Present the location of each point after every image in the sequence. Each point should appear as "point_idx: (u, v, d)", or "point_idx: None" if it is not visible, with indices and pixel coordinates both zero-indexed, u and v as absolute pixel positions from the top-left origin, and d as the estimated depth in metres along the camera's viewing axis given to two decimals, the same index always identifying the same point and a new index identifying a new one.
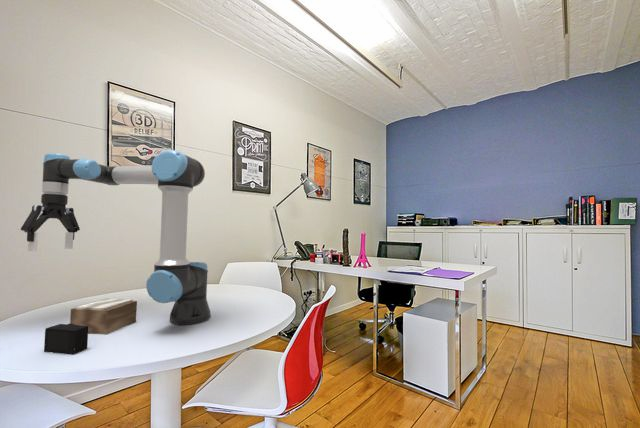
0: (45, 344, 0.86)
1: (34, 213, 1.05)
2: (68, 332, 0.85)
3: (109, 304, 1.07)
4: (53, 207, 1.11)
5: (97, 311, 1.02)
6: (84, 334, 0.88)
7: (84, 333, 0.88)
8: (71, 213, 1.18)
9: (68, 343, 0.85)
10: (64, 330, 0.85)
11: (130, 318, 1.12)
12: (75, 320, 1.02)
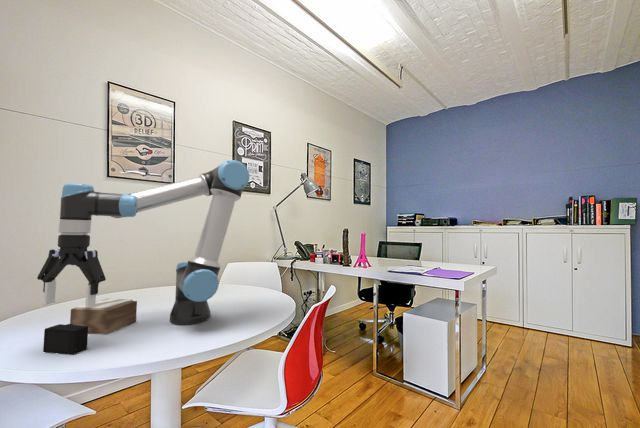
0: (44, 344, 0.86)
1: None
2: (67, 332, 0.85)
3: (109, 304, 1.07)
4: (66, 251, 0.89)
5: (97, 311, 1.02)
6: (84, 334, 0.87)
7: (84, 333, 0.87)
8: (88, 258, 0.88)
9: (68, 343, 0.85)
10: (64, 330, 0.85)
11: (130, 318, 1.12)
12: (75, 320, 1.02)
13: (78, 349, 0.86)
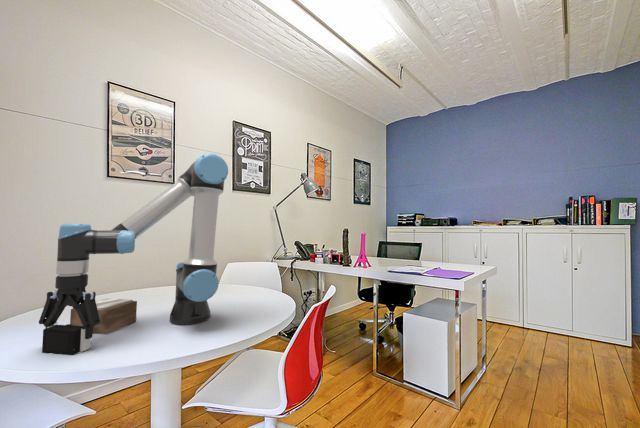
0: (43, 345, 0.85)
1: None
2: (67, 333, 0.85)
3: (109, 304, 1.07)
4: (64, 291, 0.88)
5: None
6: None
7: None
8: (85, 300, 0.87)
9: (67, 343, 0.84)
10: (63, 331, 0.85)
11: (130, 318, 1.12)
12: (75, 320, 1.02)
13: (77, 349, 0.86)
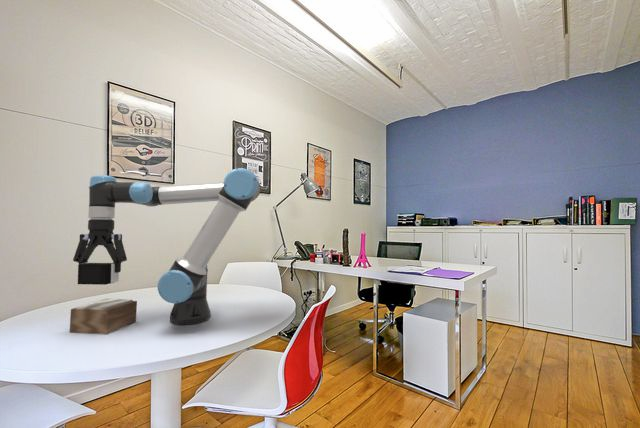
0: (78, 277, 1.01)
1: None
2: (99, 266, 1.00)
3: (109, 304, 1.07)
4: (95, 233, 1.03)
5: (97, 311, 1.02)
6: None
7: None
8: (114, 240, 1.03)
9: (100, 275, 1.00)
10: (96, 264, 1.00)
11: (130, 318, 1.12)
12: (75, 320, 1.02)
13: (109, 280, 1.01)
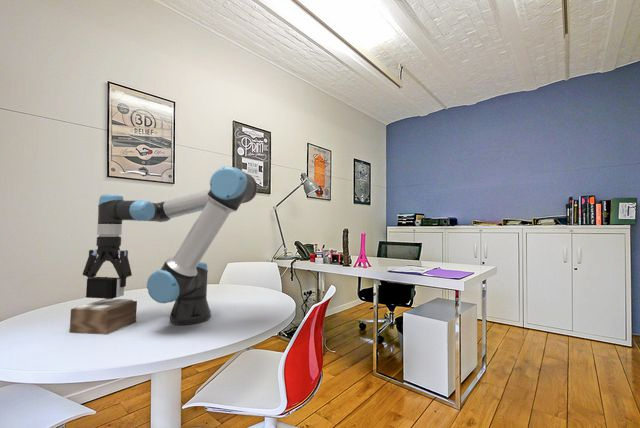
0: (87, 291, 1.07)
1: None
2: (106, 281, 1.06)
3: (109, 304, 1.07)
4: (102, 249, 1.09)
5: (97, 311, 1.02)
6: None
7: None
8: (120, 256, 1.08)
9: (107, 289, 1.06)
10: (103, 279, 1.06)
11: (130, 318, 1.12)
12: (75, 320, 1.02)
13: (114, 295, 1.07)
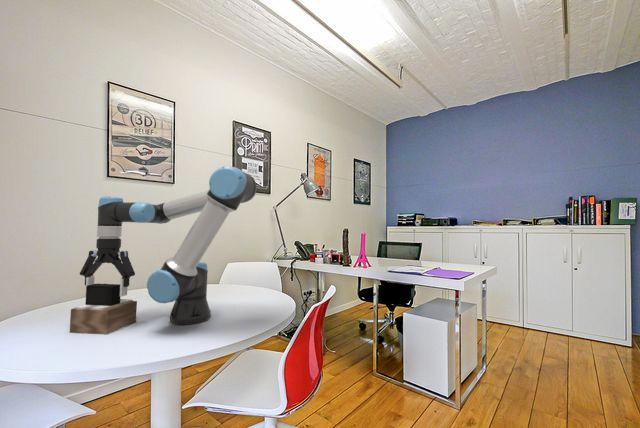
0: (86, 298, 1.06)
1: None
2: (106, 288, 1.06)
3: None
4: (103, 251, 1.09)
5: (97, 311, 1.02)
6: (118, 290, 1.08)
7: (118, 290, 1.08)
8: (121, 257, 1.08)
9: (106, 296, 1.05)
10: (102, 286, 1.06)
11: (130, 318, 1.12)
12: (75, 320, 1.02)
13: (114, 302, 1.06)
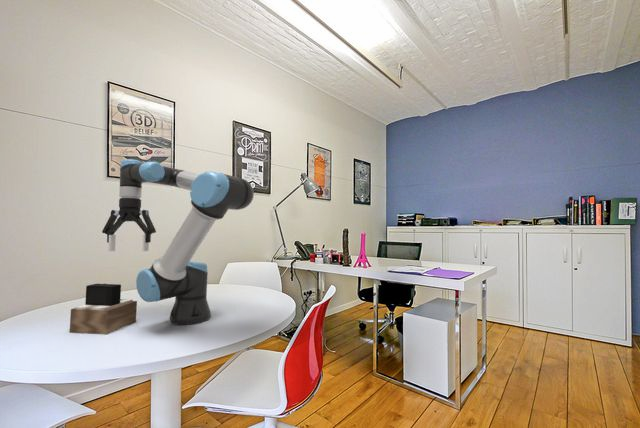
0: (86, 298, 1.06)
1: None
2: (106, 288, 1.06)
3: None
4: (125, 211, 1.17)
5: (97, 311, 1.02)
6: (118, 290, 1.08)
7: (118, 290, 1.08)
8: (142, 215, 1.17)
9: (106, 296, 1.05)
10: (102, 286, 1.06)
11: (130, 318, 1.12)
12: (75, 320, 1.02)
13: (114, 302, 1.06)
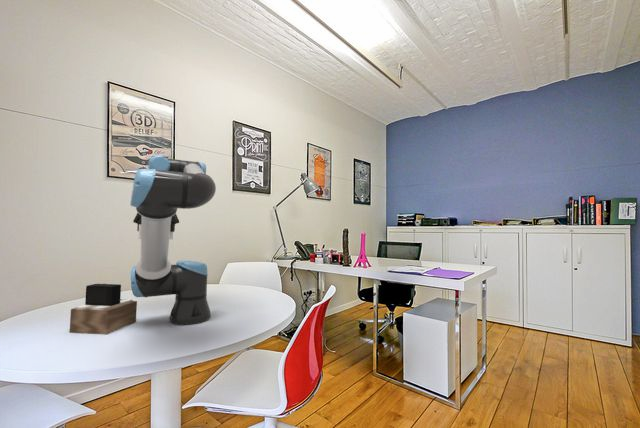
0: (86, 298, 1.06)
1: None
2: (106, 288, 1.06)
3: None
4: None
5: (97, 311, 1.02)
6: (118, 290, 1.08)
7: (118, 290, 1.08)
8: None
9: (106, 296, 1.05)
10: (102, 286, 1.06)
11: (130, 318, 1.12)
12: (75, 320, 1.02)
13: (114, 302, 1.06)
